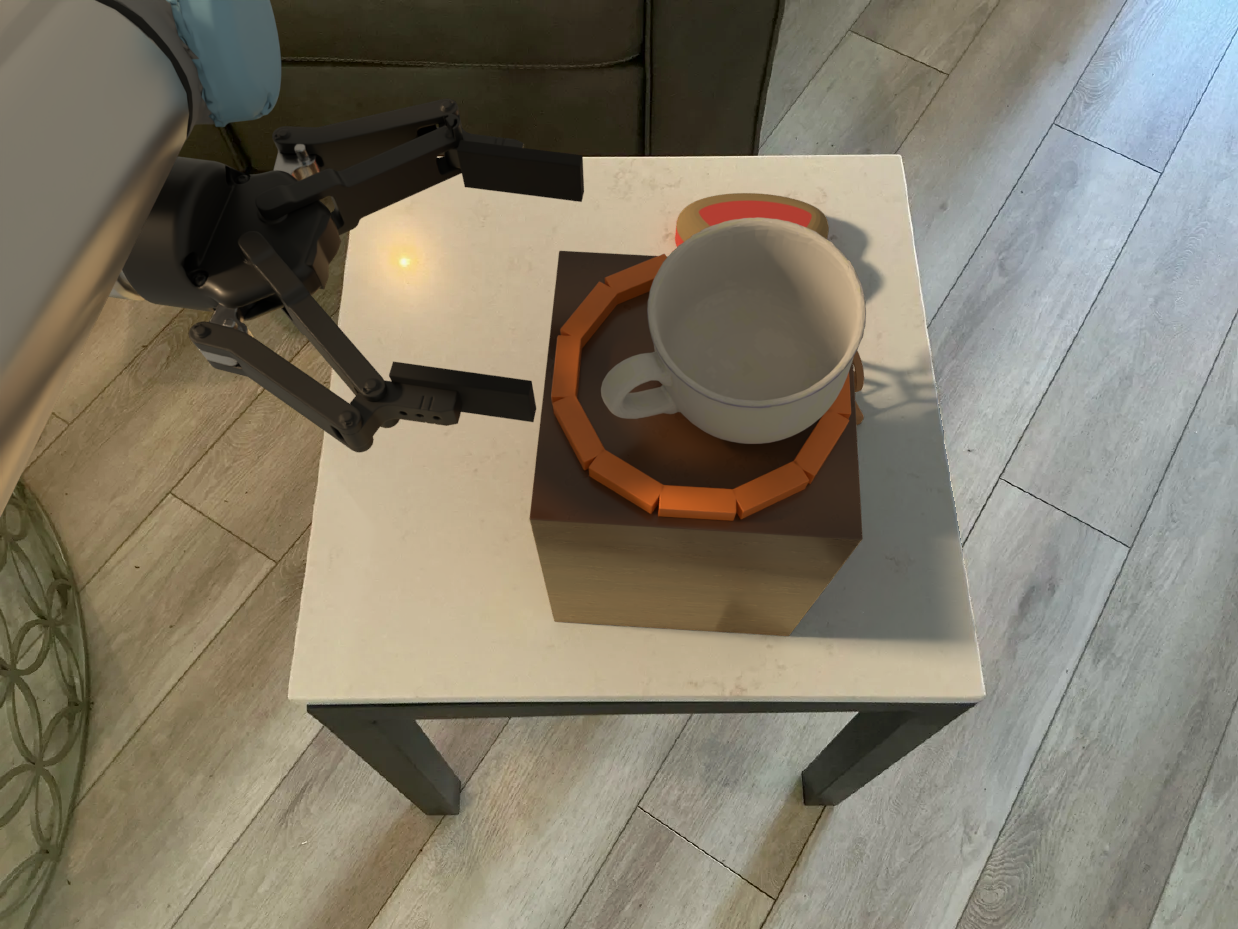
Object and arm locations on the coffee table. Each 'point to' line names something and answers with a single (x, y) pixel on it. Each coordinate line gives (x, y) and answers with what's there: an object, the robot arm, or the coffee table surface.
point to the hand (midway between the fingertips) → (559, 283)
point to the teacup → (746, 332)
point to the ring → (638, 483)
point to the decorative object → (747, 213)
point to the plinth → (678, 456)
